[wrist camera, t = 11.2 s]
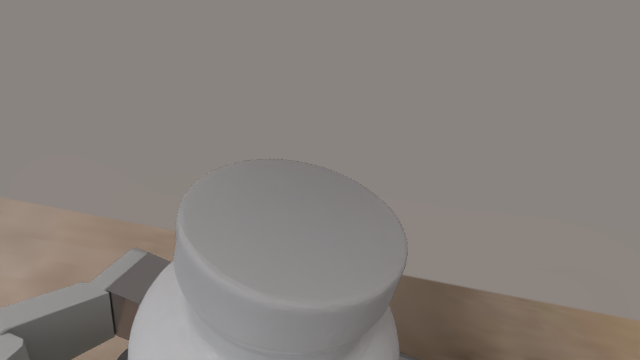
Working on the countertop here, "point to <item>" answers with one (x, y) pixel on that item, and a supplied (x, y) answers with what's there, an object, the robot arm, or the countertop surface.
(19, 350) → the robot arm
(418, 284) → the countertop surface
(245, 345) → the supplement bottle
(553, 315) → the countertop surface
